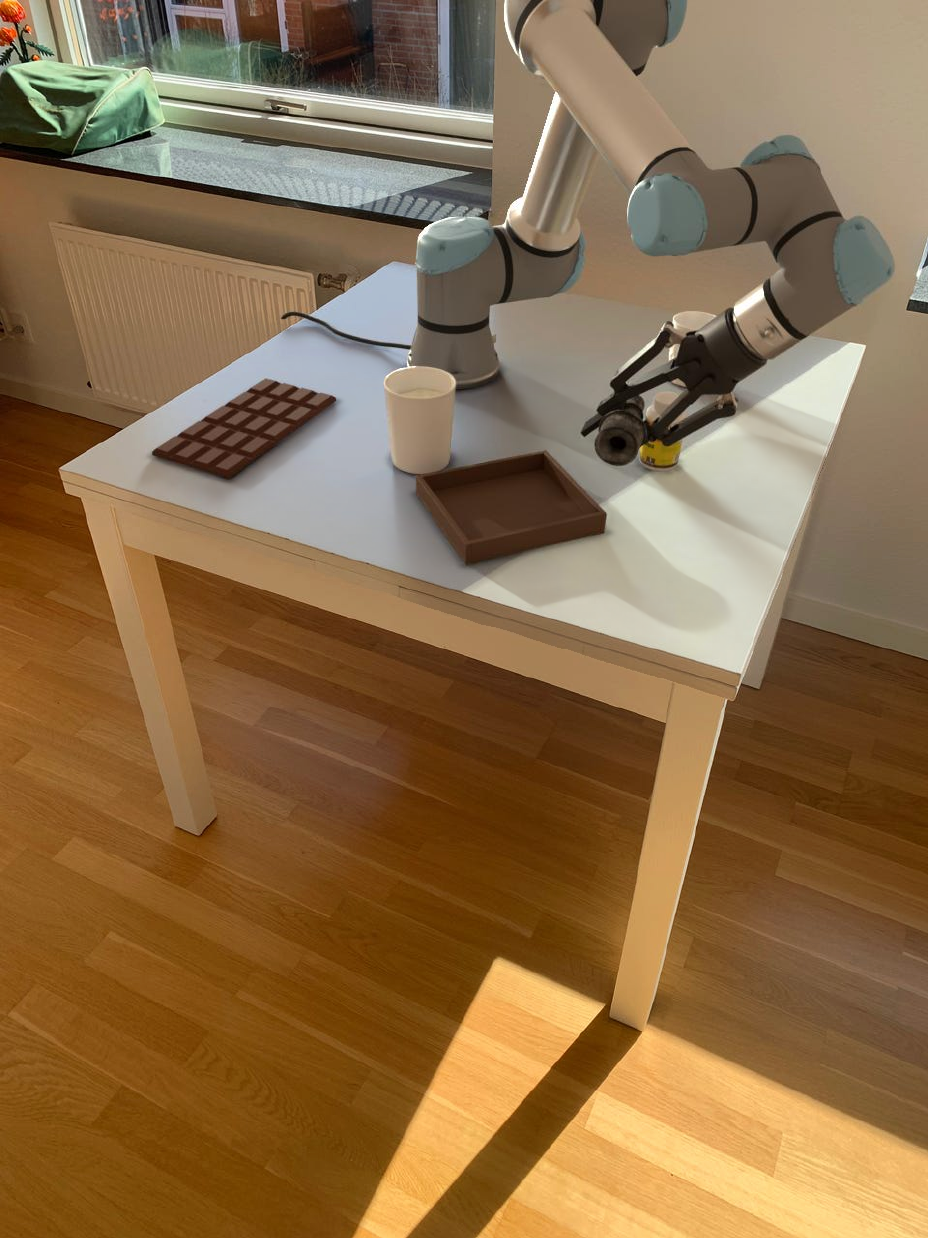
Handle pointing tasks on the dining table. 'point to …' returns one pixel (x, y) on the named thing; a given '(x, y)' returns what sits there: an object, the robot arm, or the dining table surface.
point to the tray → (509, 506)
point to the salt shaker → (622, 433)
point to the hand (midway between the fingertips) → (596, 441)
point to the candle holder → (420, 418)
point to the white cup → (688, 329)
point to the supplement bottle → (656, 452)
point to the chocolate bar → (244, 428)
